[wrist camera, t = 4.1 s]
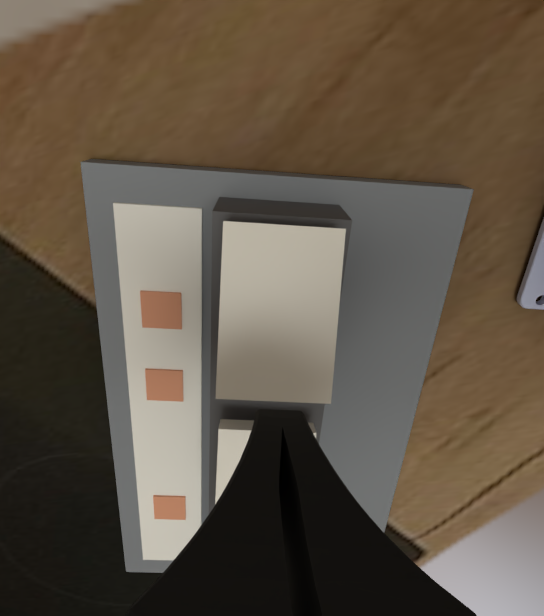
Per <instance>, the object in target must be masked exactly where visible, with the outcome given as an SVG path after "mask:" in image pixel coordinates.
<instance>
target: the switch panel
mask: <svg viewBox="0 0 544 616" xmlns="http://www.w3.org/2000/svg"><path fill="white" fill-rule="evenodd" d="M81 170H82V179H83V188H84V197H85V206H86V215H87V224H88V233H89V242H90V251H91V260H92V269H93V278H94V287H95V296H96V305H97V314H98V323H99V332H100V341H101V350H102V359H103V368H104V377H105V386H106V395H107V404H108V413H109V422H110V431H111V440H112V449H113V458H114V467H115V476H116V485H117V494H118V503H119V512H120V521H121V530H122V539H123V548H124V557H125V566H126V572H157V573H163V572H164V571H165V570H166V569H167V568H168V567H169V565H170V564H171V563H172V562H173V561H174V559H175V558H176V557H177V556H178V554H179V553H180V552H181V551H182V550H183V548H184V547H185V546H186V545H187V544H188V542H189V541H190V540H191V539H192V537H193V536H194V535H195V533H196V532H197V531H198V529H199V528H200V526H201V525H202V523H203V522H204V521H205V519H206V518H207V516H208V515H209V513H210V512H211V510H212V509H213V507H214V506H215V496H216V473H217V451H218V429H219V424H220V419H231V420H254V418H255V412H256V411H257V410H259V409H271V410H297V411H302V412H303V413H304V415H305V417H306V420H307V422H308V423H313V424H314V427H315V430H316V440H317V442H318V443H319V445H320V447H321V449H322V450H323V452H324V454H325V455H326V457H327V459H328V460H329V462H330V463H331V465H332V467H333V468H334V470H335V471H336V473H337V474H338V476H339V477H340V479H341V480H342V481H343V483H344V484H345V486H346V487H347V489H348V490H349V491H350V493H351V494H352V495H353V497H354V498H355V499H356V501H357V502H358V503H359V504H360V506H361V507H362V508H363V509H364V510H365V512H366V513H367V514H368V515H369V516H370V518H371V519H372V520H373V521H374V522H375V523H376V524H377V526H378V527H379V528H380V529H381V530H382V531H383V532H384V531H385V527H386V523H387V520H388V516H389V512H390V508H391V504H392V500H393V497H394V493H395V489H396V485H397V481H398V477H399V474H400V470H401V466H402V462H403V458H404V454H405V451H406V447H407V443H408V439H409V435H410V431H411V428H412V424H413V420H414V416H415V412H416V408H417V405H418V401H419V397H420V393H421V389H422V385H423V382H424V378H425V374H426V370H427V366H428V362H429V358H430V355H431V351H432V347H433V343H434V339H435V335H436V332H437V328H438V324H439V320H440V316H441V312H442V309H443V305H444V301H445V297H446V293H447V289H448V286H449V282H450V278H451V274H452V270H453V266H454V263H455V259H456V255H457V251H458V247H459V243H460V240H461V236H462V232H463V228H464V224H465V220H466V217H467V213H468V209H469V205H470V201H471V197H472V193H473V190H474V189H471V188H469V187H466V186H463V185H456V184H442V183H427V182H413V181H399V180H385V179H370V178H356V177H342V176H328V175H314V174H299V173H285V172H271V171H257V170H242V169H228V168H214V167H200V166H185V165H171V164H157V163H143V162H128V161H114V160H100V159H89V160H86V161H82V162H81ZM223 221H232V222H247V223H263V224H278V225H294V226H310V227H325V228H341V229H346V234H345V245H344V257H343V269H342V280H341V292H340V304H339V316H338V327H337V339H336V351H335V362H334V374H333V386H332V398H331V404H322V403H299V402H276V401H252V400H229V399H215V398H216V375H217V352H218V329H219V306H220V282H221V259H222V236H223Z"/></svg>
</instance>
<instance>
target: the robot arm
mask: <svg viewBox="0 0 544 616" xmlns="http://www.w3.org/2000/svg"><path fill="white" fill-rule="evenodd" d="M541 295H542V298H541V299H540V300H539V301H537V302H536V299H537V297H539V296H541ZM517 302H518V304H519V305H521V306H522V307H523V308H526V309H542V310H544V218H543V221H542V224H541V227H540V230H539V233H538V236H537V239H536V242H535V245H534V248H533V251H532V254H531V257H530V260H529V263H528V266H527V269H526V271H525V274H524V277H523V280H522V283H521V286H520V289H519V292H518V295H517ZM126 616H476V614H475V613H474V612H473V611H471V610H470V609H469V608H468V607H466V606H465V605H464V604H463V603H461V602H460V601H459V600H458V599H456V598H455V597H454V596H452V595H451V594H450V593H449V592H447V591H446V590H445V589H444V588H442V587H441V586H440V585H439V584H437V583H436V582H435V581H434V580H433V579H431V578H430V577H429V576H428V575H427V574H426V573H425V572H424V571H422V570H421V569H420V568H419V567H418V566H417V565H416V564H415V563H413V562H412V561H411V560H410V559H409V558H408V557H407V556H406V555H405V554H404V553H403V552H402V551H401V550H400V549H399V548H398V547H397V546H396V545H395V544H394V543H393V542H392V541H391V540H390V539H389V538H388V537H387V536H386V534H385V533H384V532H383V531H382V530H381V529H380V528H379V527H378V526H377V524H376V523H375V522H374V521H373V520H372V519H371V518H370V516H369V515H368V514H367V513H366V512H365V510H364V509H363V508H362V507H361V506H360V504H359V503H358V502H357V501H356V499H355V498H354V497H353V495H352V494H351V493H350V491H349V490H348V489H347V487H346V486H345V484H344V483H343V481H342V480H341V479H340V477H339V476H338V474H337V473H336V471H335V470H334V468H333V467H332V465H331V463H330V462H329V460H328V459H327V457H326V455H325V454H324V452H323V450H322V449H321V447H320V445H319V443H318V442H317V440H316V438H315V436H314V434H313V432H312V430H311V428H310V426H309V424H308V422H307V420H306V417H305V415H304V413H303V412H302V411H297V410H271V409H259V410H257V411H256V412H255V418H254V423H253V427H252V430H251V433H250V436H249V439H248V442H247V444H246V447H245V449H244V451H243V454H242V456H241V459H240V461H239V463H238V465H237V467H236V469H235V471H234V473H233V475H232V476H231V478H230V480H229V482H228V484H227V486H226V488H225V489H224V491H223V493H222V495H221V496H220V498H219V499H218V501H217V503H216V504H215V506H214V507H213V509H212V510H211V512H210V513H209V515H208V516H207V518H206V519H205V521H204V522H203V523H202V525H201V526H200V528H199V529H198V531H197V532H196V533H195V535H194V536H193V537H192V539H191V540H190V541H189V542H188V544H187V545H186V546H185V547H184V548H183V550H182V551H181V552H180V553H179V554H178V556H177V557H176V558H175V559H174V561H173V562H172V563H171V564H170V565H169V567H168V568H167V569H166V570H165V571H164V572H163V573H162V574H161V576H160V577H159V578H158V579H157V580H156V581H155V582H154V583H153V584H152V585H151V586H150V587H149V588H148V589H147V590H146V591H145V592H144V593H143V594H142V595H141V596H140V597H139V598H138V600H137V601H136V602H135V603H134V604H133V605H132V606H131V607H130V608H129V610H128V612H127V614H126Z"/></svg>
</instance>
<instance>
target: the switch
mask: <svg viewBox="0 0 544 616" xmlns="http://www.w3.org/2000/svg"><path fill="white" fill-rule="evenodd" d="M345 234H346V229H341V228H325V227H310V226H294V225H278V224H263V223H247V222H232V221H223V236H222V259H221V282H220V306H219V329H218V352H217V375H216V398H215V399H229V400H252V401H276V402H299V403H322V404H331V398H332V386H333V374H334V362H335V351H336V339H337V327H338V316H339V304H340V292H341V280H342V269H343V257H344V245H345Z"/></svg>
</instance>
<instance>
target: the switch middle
mask: <svg viewBox="0 0 544 616" xmlns="http://www.w3.org/2000/svg"><path fill="white" fill-rule="evenodd" d="M253 423H254V420H231V419H220V424H219V429H218V451H217V473H216V496H215V504H216V503H217V501H218V499H219V498H220V496H221V495H222V493H223V491H224V489H225V488H226V486H227V484H228V482H229V480H230V478H231V476H232V475H233V473H234V471H235V469H236V467H237V465H238V463H239V461H240V459H241V456H242V454H243V451H244V449H245V447H246V444H247V442H248V439H249V436H250V433H251V430H252V427H253ZM308 424H309V426H310V428H311V430H312V432H313V434H314V436H315V438H316V430H315V427H314V424H313V423H308Z"/></svg>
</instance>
